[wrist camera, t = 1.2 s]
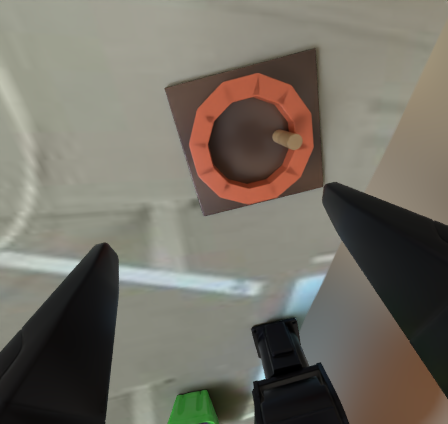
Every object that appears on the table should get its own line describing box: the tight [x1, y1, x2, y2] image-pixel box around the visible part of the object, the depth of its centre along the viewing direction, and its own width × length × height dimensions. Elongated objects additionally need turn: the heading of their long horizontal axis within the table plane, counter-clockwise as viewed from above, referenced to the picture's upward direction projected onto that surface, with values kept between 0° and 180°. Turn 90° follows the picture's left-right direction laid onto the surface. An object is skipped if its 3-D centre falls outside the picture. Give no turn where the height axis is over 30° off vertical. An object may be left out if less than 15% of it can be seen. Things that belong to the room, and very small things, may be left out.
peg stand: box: [165, 48, 323, 216], centre depth 20 cm, size 12×13×5 cm
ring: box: [189, 73, 314, 204], centre depth 21 cm, size 11×11×2 cm
